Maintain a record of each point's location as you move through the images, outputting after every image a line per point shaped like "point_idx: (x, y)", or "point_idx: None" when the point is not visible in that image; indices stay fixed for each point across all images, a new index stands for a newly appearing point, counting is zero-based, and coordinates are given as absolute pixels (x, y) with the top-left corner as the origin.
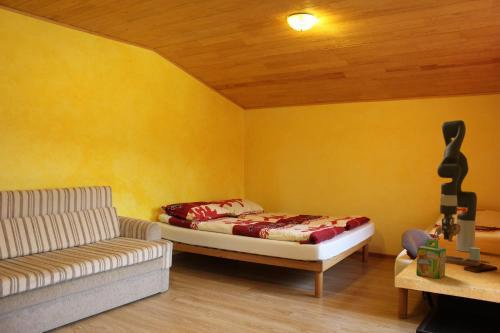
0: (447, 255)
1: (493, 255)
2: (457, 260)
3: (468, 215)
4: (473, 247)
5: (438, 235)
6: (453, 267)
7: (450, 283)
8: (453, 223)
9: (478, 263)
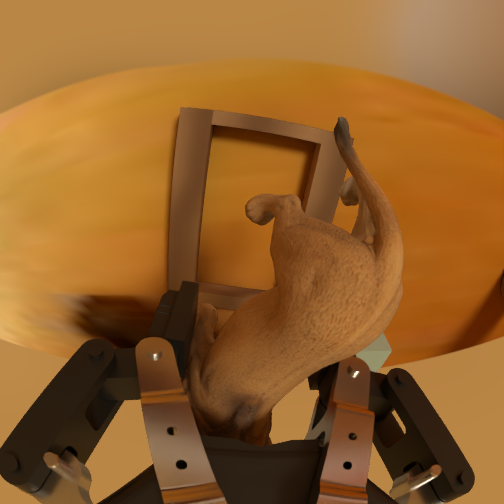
0: (330, 220)
1: (459, 347)
2: (187, 280)
3: None
4: (384, 358)
5: (359, 217)
6: (87, 260)
7: None
8: (385, 461)
9: None
